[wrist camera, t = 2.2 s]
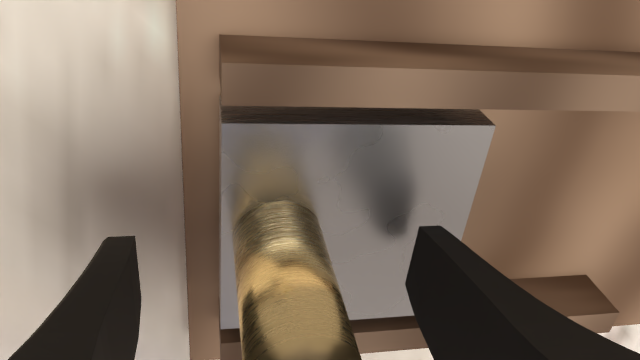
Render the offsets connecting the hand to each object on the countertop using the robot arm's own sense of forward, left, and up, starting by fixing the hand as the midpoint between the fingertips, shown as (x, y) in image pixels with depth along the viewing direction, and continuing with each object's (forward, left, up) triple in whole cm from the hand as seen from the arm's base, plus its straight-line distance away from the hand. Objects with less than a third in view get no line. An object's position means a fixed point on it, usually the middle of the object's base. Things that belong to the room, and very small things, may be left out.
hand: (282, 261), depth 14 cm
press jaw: (+2, 0, -3) cm, 3 cm away
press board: (+8, 0, -4) cm, 10 cm away
